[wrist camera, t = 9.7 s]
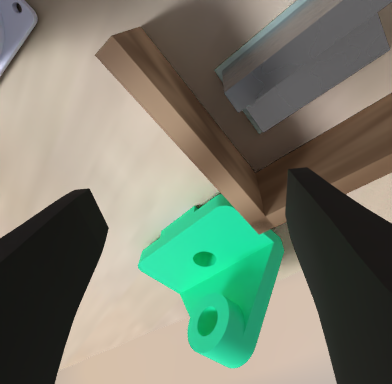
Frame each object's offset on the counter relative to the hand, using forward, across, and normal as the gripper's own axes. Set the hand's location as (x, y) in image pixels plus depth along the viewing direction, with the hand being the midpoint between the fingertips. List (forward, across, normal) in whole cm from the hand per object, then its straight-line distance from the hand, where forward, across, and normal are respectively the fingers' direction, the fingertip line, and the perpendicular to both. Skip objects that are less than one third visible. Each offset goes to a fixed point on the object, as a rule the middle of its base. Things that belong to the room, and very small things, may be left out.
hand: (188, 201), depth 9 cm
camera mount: (+11, +1, +13) cm, 17 cm away
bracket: (+10, -6, -2) cm, 12 cm away
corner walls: (+10, -6, -2) cm, 12 cm away
